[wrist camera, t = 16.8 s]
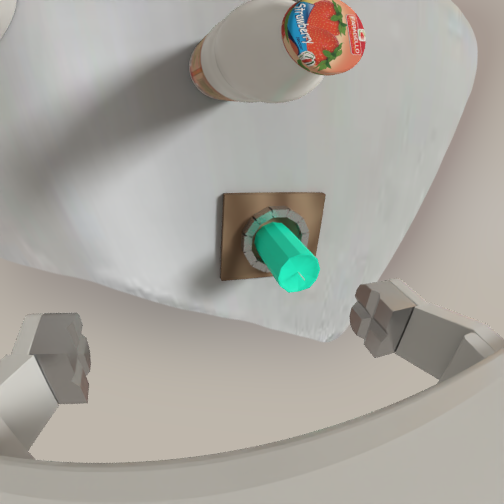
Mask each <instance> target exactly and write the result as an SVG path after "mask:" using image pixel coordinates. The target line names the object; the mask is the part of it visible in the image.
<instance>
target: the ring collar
mask: <svg viewBox="0 0 504 504" xmlns="http://www.w3.org/2000/svg"><path fill="white" fill-rule="evenodd" d="M253 216H254V217H252V216H251V218H250V219H249V221H248V222H247V224H246V225H245V227H244V228H243V230H242V231H243V232H242V236H241V249H242V251H243V253H244V254H245V256H246V258H247V260H248V261H249V263H250V265H252V267H254V268H256V269H259V270H261V271H263V272H265V271H266V273H267V272H270V270H269V269H268V267H267V266H266V264H265V263H264V261H263V260H262V259H260V258H258V257H256V256H254V254H253V252H252V250H251V249H252V237H253V236H254V234H255V233H256V231H257V230H258V228H259V226H260V225H261V224H263V223H265V222H267V221H268V220H270V219H272V218H276V217H288V218H289V219H291V220H293V221H294V222H295V224H296V227H297V229H298V234H297V238H298V239H299V240H300V241H301V242H302V243H303V244H304V245H305V246H306V247H307V244H308V238H309V230H308V227H307V225H306V223H305V220H304V218H303V217H302V216H301V215H299V214H298V213H297V212H295V211H293V210H292V209H290V208H289V207H287V206H269V208H268V207H266V208H264V209H263V210H261V211H259V212H257V213H256V214H254V215H253Z"/></svg>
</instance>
